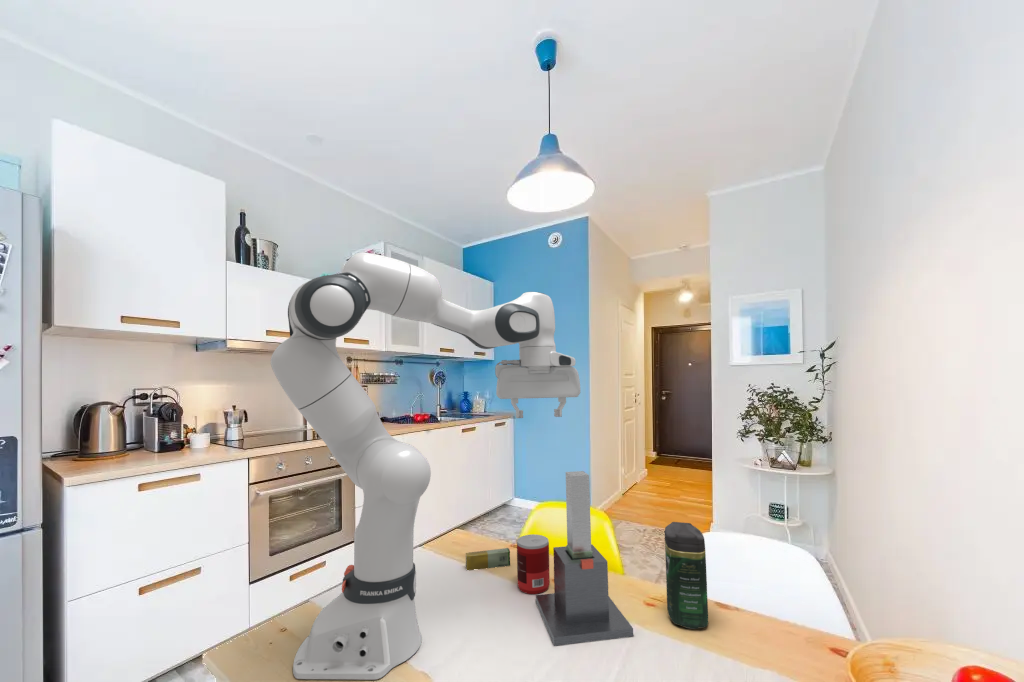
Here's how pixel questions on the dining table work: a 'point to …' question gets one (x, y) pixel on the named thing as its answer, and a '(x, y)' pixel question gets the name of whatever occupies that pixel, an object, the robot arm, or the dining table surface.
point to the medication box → (488, 559)
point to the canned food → (533, 564)
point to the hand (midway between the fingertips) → (538, 417)
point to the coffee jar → (686, 575)
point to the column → (578, 515)
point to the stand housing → (581, 602)
